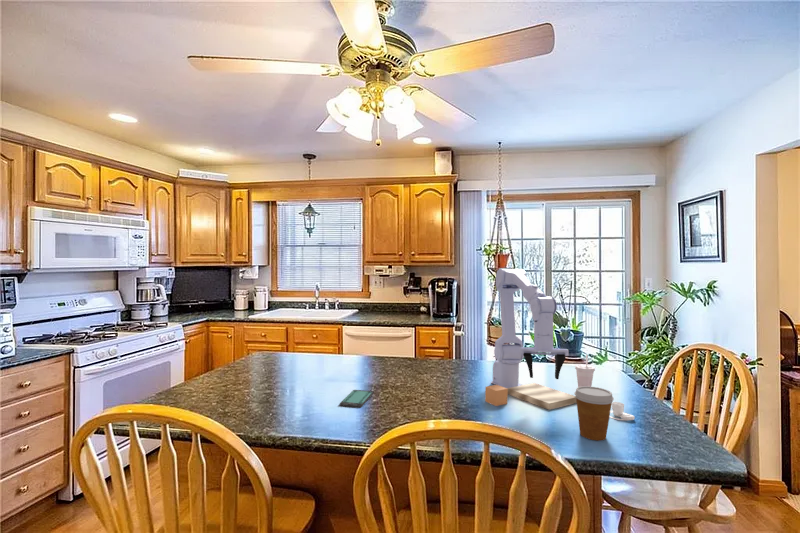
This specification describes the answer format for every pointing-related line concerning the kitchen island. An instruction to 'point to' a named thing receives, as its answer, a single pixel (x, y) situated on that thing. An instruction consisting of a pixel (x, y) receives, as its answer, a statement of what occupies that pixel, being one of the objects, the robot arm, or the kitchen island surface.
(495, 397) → the block
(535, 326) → the robot arm
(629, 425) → the kitchen island surface
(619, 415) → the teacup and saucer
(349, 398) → the smartphone
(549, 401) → the base board
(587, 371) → the smoothie
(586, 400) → the disposable coffee cup
